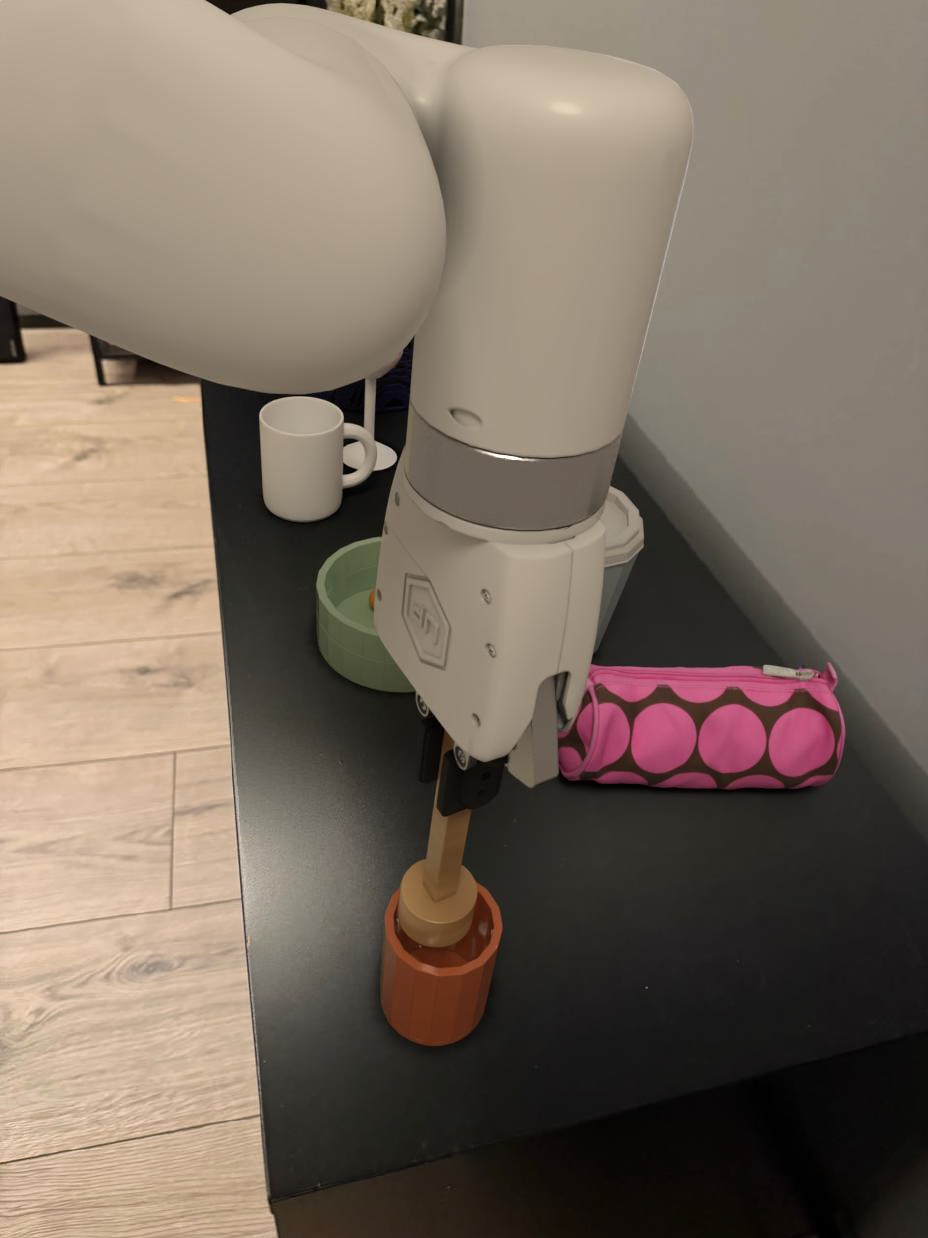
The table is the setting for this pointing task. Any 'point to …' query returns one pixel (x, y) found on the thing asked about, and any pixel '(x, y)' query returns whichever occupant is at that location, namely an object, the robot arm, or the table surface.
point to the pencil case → (706, 727)
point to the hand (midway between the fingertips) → (455, 785)
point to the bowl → (354, 619)
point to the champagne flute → (371, 425)
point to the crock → (439, 976)
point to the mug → (308, 457)
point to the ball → (372, 598)
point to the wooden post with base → (439, 881)
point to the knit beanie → (383, 394)
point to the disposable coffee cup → (617, 552)
